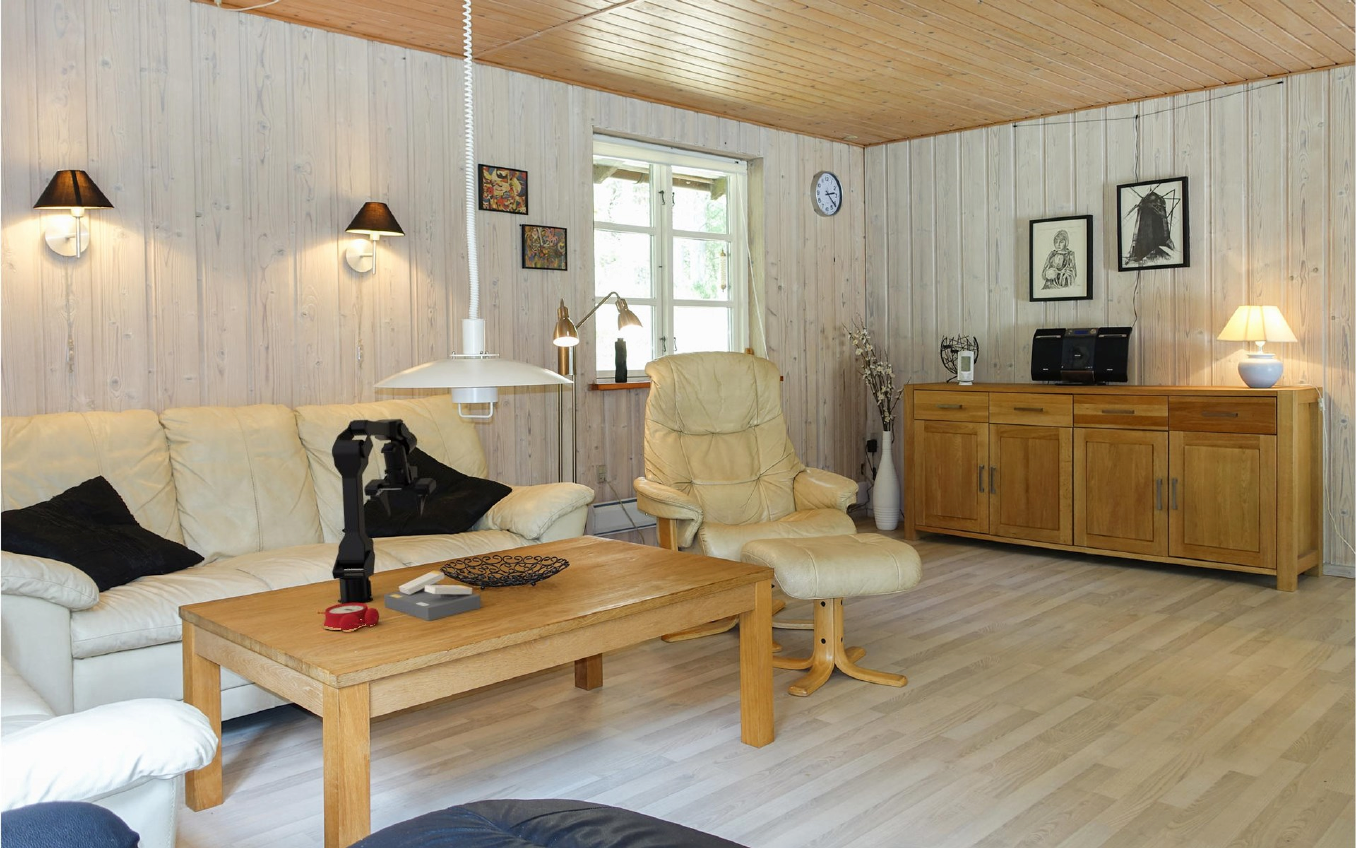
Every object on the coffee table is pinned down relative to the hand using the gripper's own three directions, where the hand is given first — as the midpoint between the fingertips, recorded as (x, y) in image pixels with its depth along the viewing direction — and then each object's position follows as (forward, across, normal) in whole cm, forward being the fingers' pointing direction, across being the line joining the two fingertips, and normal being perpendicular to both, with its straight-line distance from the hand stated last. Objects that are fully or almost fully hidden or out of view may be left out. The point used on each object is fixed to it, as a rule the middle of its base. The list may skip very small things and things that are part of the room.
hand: (404, 515), depth 284 cm
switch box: (+5, -22, +43) cm, 49 cm away
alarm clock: (+2, -9, +58) cm, 58 cm away
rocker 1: (+1, -18, +37) cm, 42 cm away
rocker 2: (-1, -28, +44) cm, 52 cm away
